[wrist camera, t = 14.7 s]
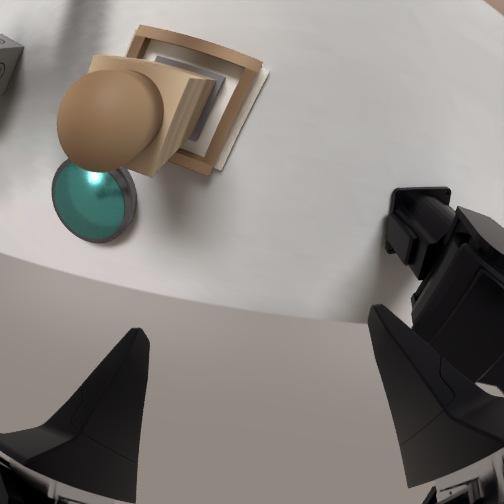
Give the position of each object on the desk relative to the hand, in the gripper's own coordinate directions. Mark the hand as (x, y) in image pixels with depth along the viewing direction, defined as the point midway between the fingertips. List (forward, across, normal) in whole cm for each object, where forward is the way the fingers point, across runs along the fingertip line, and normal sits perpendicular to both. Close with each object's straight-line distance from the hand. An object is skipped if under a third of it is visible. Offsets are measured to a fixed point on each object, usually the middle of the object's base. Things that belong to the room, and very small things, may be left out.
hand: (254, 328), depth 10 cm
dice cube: (+13, +21, -18) cm, 31 cm away
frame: (+13, +4, -8) cm, 16 cm away
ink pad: (+13, +13, -2) cm, 18 cm away
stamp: (+13, +4, -8) cm, 15 cm away
